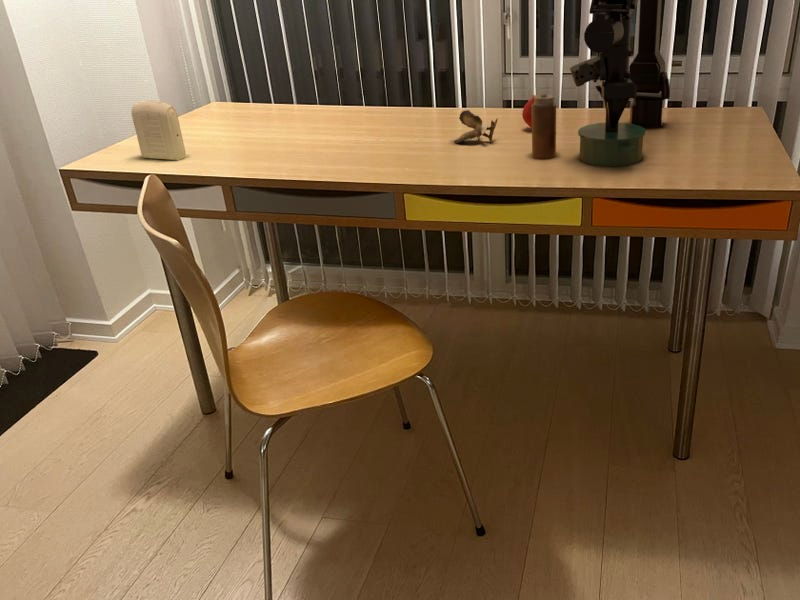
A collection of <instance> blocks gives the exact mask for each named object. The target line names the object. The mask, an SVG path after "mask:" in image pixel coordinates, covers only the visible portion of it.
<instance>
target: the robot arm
mask: <svg viewBox="0 0 800 600" xmlns="http://www.w3.org/2000/svg"><path fill="white" fill-rule="evenodd" d="M638 1H639V14H638V15H639V16H638V17H639V18H638V39H637V40H638V41H637V42H638V43H637V54H636V56H635V57H634V58H633V60H632V62H631V63H630V57H632V56H633V55H632V53H633V51H632V49H631V30H632V14H633V11H634V10H636V8H637V5H638ZM662 1H663V0H591V3H590V7H589V13H588V14H590V15H594V19H593V20H592V21H590V22H589V23H588V25H587V26H586V28H585V31H584V33H583V39H584V40H583V41H584V43H585V45H586V47H587V48H588V49H589V50H590V51H592V52H593V53H596V56H594V57H592V58H588V59H586V60H584V61H582V62H579V63H577V64H574V65H572V66H571V67H570V68H569V70H570V74H571V77H572V79H573V82H574V84H575V87H577V88H578V87H581V86H584V85H585V84H586V83H589V82H591V81H592V83H597V82H598V81H599V85H595V89H596V90H597V92H598V93H599V95H600V97H601V98H602V99H603V102H604V103H603V104H604V110H606V105H607V108H608V116H609V123H610V127H611V128H615V127H616V126H617V123H619V122H620V119H621V117H622V115H623V113H624V111H625V109H626V107H627V105H628V103H629V101H630V100H631V99H632V102H631V103H630V109H629V111H630V113H629V122H630V124H634V125H638V126H641V127H643V128H644V129H646V128H663V127H664V124H663V123H662V117H663V105H664V101H665V100H669V99H670V96H671V88H670V87H671V86H670V79H669V77H668V73H667V72H666V61H665V59H664V57H663V55H662V53H661V51H660V36H661V19H662V18H661V17H662ZM618 121H619V122H618Z"/></svg>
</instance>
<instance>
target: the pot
mask: <svg viewBox="0 0 800 600" xmlns="http://www.w3.org/2000/svg"><path fill="white" fill-rule="evenodd" d="M643 147H644V136H643V137H641V138H639V139H635V140H631V141H623V142H598V141H592V140H587V139H584V138H582V137H580V136H579V159H580V161H581V162H583V163H585V164H589V165H591V166H599V167H623V166H630V165H634V164H636V163H638V162H640V161H641V160H642V158H643V149H644V148H643Z"/></svg>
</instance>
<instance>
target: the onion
mask: <svg viewBox="0 0 800 600" xmlns="http://www.w3.org/2000/svg"><path fill="white" fill-rule="evenodd" d="M534 96H536V94H531V98H530V99H529V100H528V101H527V102H526V103H525V104H524V106H523V109H522V113H521V117H522V119H523V121H524V123H525V124H526V125H527V126H528V127H529V128H530V129H532V104H534Z"/></svg>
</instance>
